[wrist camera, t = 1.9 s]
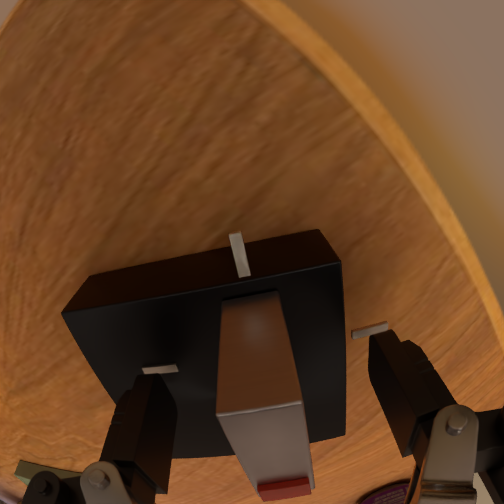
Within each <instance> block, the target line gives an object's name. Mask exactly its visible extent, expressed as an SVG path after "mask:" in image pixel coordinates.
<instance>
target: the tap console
mask: <svg viewBox="0 0 504 504" xmlns="http://www.w3.org/2000/svg"><path fill="white" fill-rule="evenodd" d="M229 239H230V243H231V247H226V248H221V249H216V250H212V251H207V252H202V253H197V254H192V255H187V256H182V257H178V258H173V259H168V260H163V261H158V262H154V263H149V264H144V265H139V266H134V267H130V268H125V269H120V270H116V271H111V272H106V273H101V274H97V275H92V276H89V277H88V278H87V280H86V281H85V282H84V283H83V285H82V286H81V287H80V288H79V290H78V291H77V292H76V293H75V295H74V296H73V297H72V299H71V300H70V301H69V303H68V304H67V305H66V307H65V308H64V309H63V311H62V312H61V315H62V317H63V319H64V320H65V322H66V324H67V326H68V328H69V330H70V332H71V333H72V335H73V337H74V339H75V341H76V342H77V344H78V346H79V348H80V349H81V351H82V353H83V355H84V356H85V358H86V360H87V361H88V363H89V364H90V366H91V368H92V369H93V371H94V373H95V374H96V376H97V377H98V379H99V380H100V382H101V383H102V385H103V386H104V388H105V389H106V391H107V392H108V394H109V395H110V397H111V398H112V400H113V401H114V403H115V404H116V405H117V402H118V400H119V399H120V398H121V396H122V395H123V394H124V393H125V391H126V390H132V388H133V385H134V381H135V378H136V376H137V375H139V374H151V373H159V374H160V375H161V376H162V378H163V380H164V382H165V383H166V385H167V387H168V389H169V391H170V393H171V394H172V396H173V398H174V400H175V402H176V405H177V411H178V418H177V425H176V431H175V438H174V445H173V453H172V459H178V458H203V457H217V456H229V455H236V454H235V452H234V450H233V449H232V447H231V445H230V443H229V441H228V439H227V437H226V435H225V433H224V431H223V429H222V427H221V425H220V423H219V421H218V419H217V417H216V395H217V375H218V357H219V339H220V323H221V307H222V301H224V300H230V299H235V298H240V297H246V296H251V295H256V294H261V293H266V292H271V291H278V292H279V295H280V300H281V304H282V308H283V313H284V317H285V321H286V326H287V330H288V335H289V339H290V343H291V348H292V352H293V357H294V361H295V366H296V370H297V375H298V379H299V384H300V388H301V393H302V398H303V403H304V410H305V416H306V423H307V430H308V437H309V443H314V442H318V441H323V440H327V439H332V438H336V437H340V436H344V435H345V432H346V335H345V311H344V292H343V277H342V264H341V260H340V259H339V257H338V256H337V254H336V253H335V251H334V250H333V249H332V247H331V246H330V244H329V243H328V241H327V240H326V238H325V237H324V236H323V234H322V233H321V231H320V230H319V229H316V230H311V231H306V232H301V233H296V234H291V235H286V236H281V237H276V238H271V239H266V240H261V241H256V242H251V243H246V244H244V242H243V237H242V233H241V231H236V232H231V233H229ZM387 330H388V322H387V321H383V322H380V323H376V324H372V325H369V326H365V327H361V328H357V329H353V330H351V337H352V339H353V340H354V339H358V338H361V337H365V336H369V335H372V334H376V333H379V332H383V331H387Z"/></svg>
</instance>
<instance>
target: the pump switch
mask: <svg viewBox="0 0 504 504" xmlns="http://www.w3.org/2000/svg"><path fill="white" fill-rule="evenodd" d="M40 471H51V472H53V473H54V474H56V475H57V476H58V477H59V478H60V479H63V478H70V477H75V476H81V475H82V473H76V472H70V471H65V470H59V469H54V468H50V467H45V466H41V465H36V464H32V463H28V462H25V461H21V460H20V461H19V463H18V466H17V468H16V471H15V473H14V475H15V476H16V477H18V478H19V479H20V480H21V481H22V482H24V483H25V484H26V485H27V486H28V484H29V482H30V480H31V479H32V477H33V476H34V475H35V474H36V473H38V472H40Z"/></svg>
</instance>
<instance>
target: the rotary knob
mask: <svg viewBox="0 0 504 504" xmlns="http://www.w3.org/2000/svg"><path fill="white" fill-rule="evenodd" d="M216 417H217V419H218V421H219V423H220V425H221V427H222V429H223V431H224V433H225V435H226V437H227V439H228V441H229V443H230V445H231V447H232V449H233V450H234V452H235V454H236V456H237V458H238V460H239V462H240V464H241V465H242V467H243V469H244V471H245V473H246V475H247V476H248V478H249V480H250V482H251V484H252V485H253V487H254V489H255V491H256V492H257V494H258V496H259V497H261V499H262V500H263V501H264V502H265V501H273V500H280V499H287V498H293V497H299V496H305V495H310V494H311V489H314V488H315V482H314V474H313V467H312V459H311V452H310V445H309V437H308V430H307V423H306V416H305V410H304V403H303V398H302V393H301V388H300V384H299V379H298V375H297V370H296V366H295V361H294V357H293V352H292V348H291V343H290V339H289V335H288V330H287V326H286V321H285V317H284V313H283V308H282V304H281V300H280V295H279V292H278V291H271V292H266V293H261V294H256V295H251V296H246V297H240V298H235V299H230V300H224V301H222V307H221V323H220V339H219V357H218V375H217V395H216Z"/></svg>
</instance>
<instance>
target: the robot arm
mask: <svg viewBox="0 0 504 504" xmlns="http://www.w3.org/2000/svg"><path fill="white" fill-rule="evenodd" d="M368 372H369V377H370V381H371V384H372V386H373V388H374V391H375V393H376V395H377V398H378V400H379V402H380V405H381V407H382V409H383V412H384V414H385V416H386V419H387V421H388V423H389V426H390V428H391V431H392V433H393V435H394V438H395V440H396V443H397V445H398V448H399V450H400V453H401V455H402V458H403V457H406V456H409V455H411V454H413V456H414V459H415V461H416V463H415V466H414V469H413V473H412V477H411V480H410V484H409V487H408V491H407V494H406V497H405V500H404V504H476V500H477V491H476V489H474V488H473V476H474V473H476V472H478V474H479V476H480V478H481V479H482V481H483V483H484V485H485V487H486V489H487V491H488V492H489V494H490V496H491V498H492V500H493V502H494V504H504V406H503V408H500V409H495V410H489V411H483V412H474V411H473V410H472V409H470V408H469V407H466V406H464V405H459V404H458V403H457V402H456V401H455V400H454V398H453V396H452V395H451V393H450V392H449V390H448V388H447V387H446V385H445V384H444V382H443V381H442V379H441V377H440V376H439V374H438V373H437V371H436V370H434V367H433V365H432V364H431V362H430V361H428V358H427V356H426V355H425V353H424V352H423V350H422V349H421V347H419V346H418V345H416V344H415V343H413V342H411V341H410V340H406V341H403V342H400V340H399V338H398V337H397V335H396V334H395V332H394V331H393V330H392V329H390V330H387V331H383V332H379V333H376V334H372V335H370V337H369V358H368ZM177 418H178V411H177V405H176V402H175V400H174V398H173V396H172V394H171V393H170V391H169V389H168V387H167V385H166V383H165V382H164V380H163V378H162V376H161V375H160V374H159V373H151V374H139V375H137V376H136V378H135V381H134V385H133V388H132V390H126V391H125V393H124V394H123V395H122V396H121V398H120V399H119V400H118V402H117V405H116V408H115V411H114V415H113V418H112V421H111V425H110V427H109V430H108V433H107V437H106V440H105V443H104V446H103V450H102V453H101V457H100V459H99V461H98V462H94V463H92V464H90V465H89V466H88V467H87V468H85V470H84V471H83V473H82V475H81V476H75V477H70V478H63V479H60V478H59V477H58V476H57V475H56V474H54V473H53V472H51V471H40V472H38V473H36V474H35V475H34V476H33V477H32V479H31V480H30V482H29V484H28V487H27V489H26V492H25V495H24V497H23V500H22V502H21V504H156V503H155V495H156V494H167V492H168V484H169V476H170V468H171V460H172V453H173V445H174V438H175V431H176V425H177Z"/></svg>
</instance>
